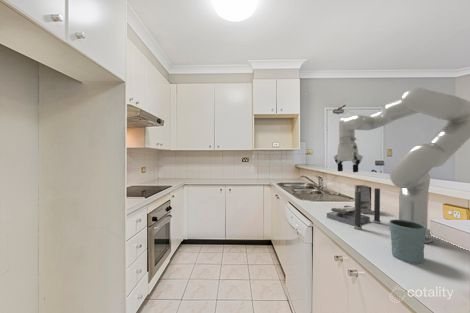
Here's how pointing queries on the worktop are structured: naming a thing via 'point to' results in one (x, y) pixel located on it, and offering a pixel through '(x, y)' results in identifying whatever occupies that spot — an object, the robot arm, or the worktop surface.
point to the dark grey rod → (357, 210)
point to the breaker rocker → (347, 208)
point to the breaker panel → (346, 216)
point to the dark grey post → (377, 206)
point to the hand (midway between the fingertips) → (347, 171)
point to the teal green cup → (407, 240)
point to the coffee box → (365, 198)
